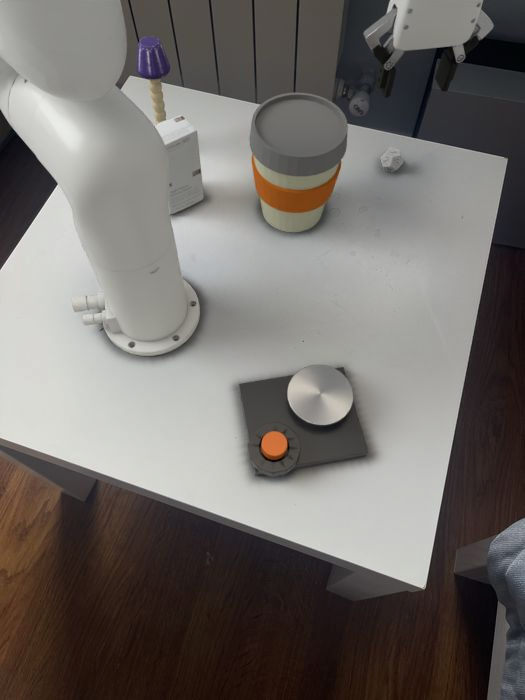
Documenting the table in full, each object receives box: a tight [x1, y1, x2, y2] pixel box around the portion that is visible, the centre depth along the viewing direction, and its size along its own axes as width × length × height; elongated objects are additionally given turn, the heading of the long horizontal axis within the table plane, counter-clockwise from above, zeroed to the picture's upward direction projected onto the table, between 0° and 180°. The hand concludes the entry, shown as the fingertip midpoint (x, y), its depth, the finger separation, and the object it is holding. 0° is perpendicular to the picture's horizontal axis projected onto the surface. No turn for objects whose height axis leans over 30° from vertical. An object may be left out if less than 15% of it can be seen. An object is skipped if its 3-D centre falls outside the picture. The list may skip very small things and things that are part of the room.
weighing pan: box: [287, 364, 354, 426], centre depth 62 cm, size 8×8×1 cm
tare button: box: [261, 431, 287, 460], centre depth 59 cm, size 3×3×2 cm
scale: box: [238, 366, 369, 478], centre depth 62 cm, size 13×12×3 cm
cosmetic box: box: [154, 114, 205, 215], centre depth 75 cm, size 6×4×12 cm
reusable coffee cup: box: [249, 92, 349, 233], centre depth 73 cm, size 13×13×15 cm
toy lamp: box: [136, 35, 171, 125], centre depth 79 cm, size 5×5×17 cm
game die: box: [380, 147, 404, 173], centre depth 83 cm, size 4×4×3 cm
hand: (412, 87), depth 72 cm, fingers open, 7 cm apart
